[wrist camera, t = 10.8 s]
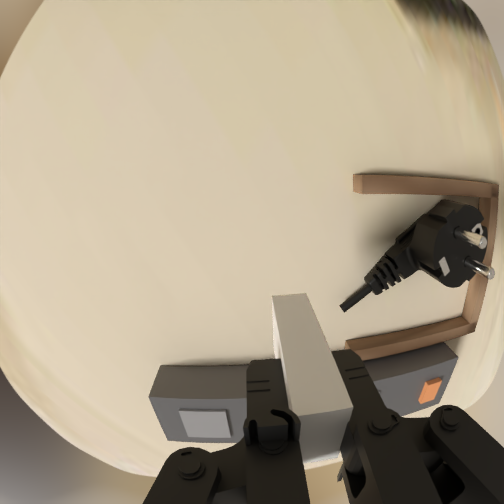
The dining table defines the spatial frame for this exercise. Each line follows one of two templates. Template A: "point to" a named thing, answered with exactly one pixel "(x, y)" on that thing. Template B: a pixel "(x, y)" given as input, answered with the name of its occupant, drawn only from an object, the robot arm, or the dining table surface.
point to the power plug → (433, 250)
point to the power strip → (234, 392)
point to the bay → (477, 284)
